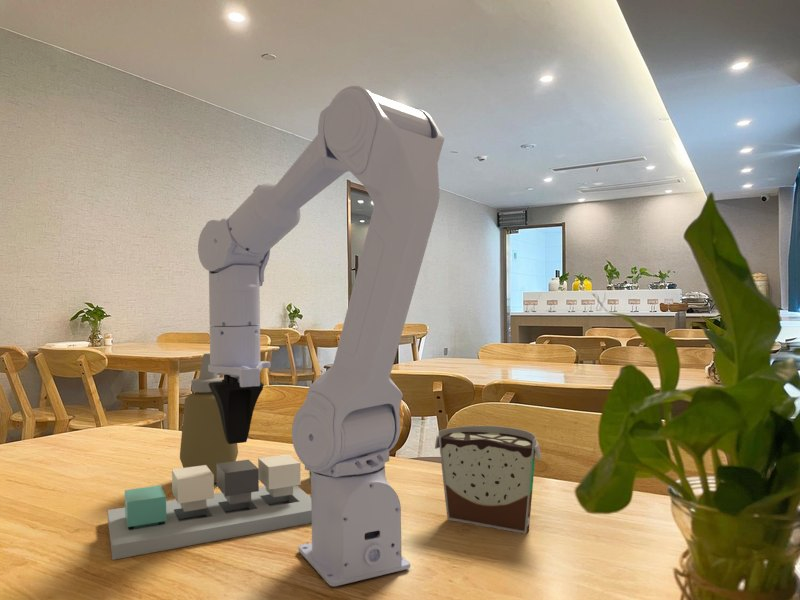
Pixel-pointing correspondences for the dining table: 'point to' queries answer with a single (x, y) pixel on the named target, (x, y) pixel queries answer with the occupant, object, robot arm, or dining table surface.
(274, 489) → the near ivory key
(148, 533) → the selector panel
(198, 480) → the middle ivory key
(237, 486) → the dark gray key
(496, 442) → the food container
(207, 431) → the squeeze bottle
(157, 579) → the dining table surface
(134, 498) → the teal key
